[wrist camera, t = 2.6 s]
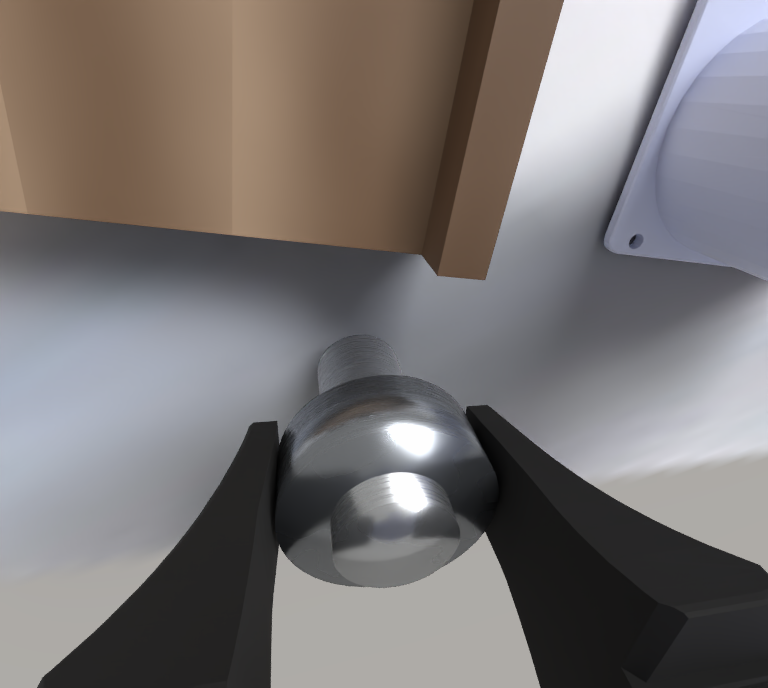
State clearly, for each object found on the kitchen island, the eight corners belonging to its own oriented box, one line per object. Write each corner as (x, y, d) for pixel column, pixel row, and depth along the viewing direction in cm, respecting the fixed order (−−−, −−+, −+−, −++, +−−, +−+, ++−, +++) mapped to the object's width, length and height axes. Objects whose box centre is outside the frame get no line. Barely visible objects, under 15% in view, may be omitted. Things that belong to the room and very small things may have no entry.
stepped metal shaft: (445, 308, 15) (545, 456, 9) (415, 429, 18) (478, 609, 12) (285, 295, 14) (280, 457, 8) (277, 427, 16) (268, 626, 10)
